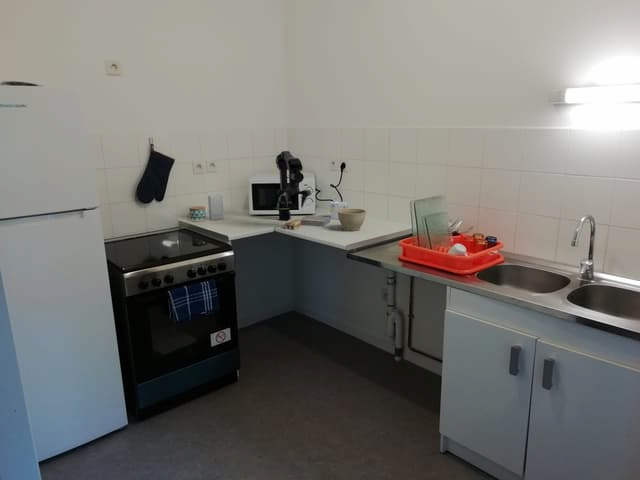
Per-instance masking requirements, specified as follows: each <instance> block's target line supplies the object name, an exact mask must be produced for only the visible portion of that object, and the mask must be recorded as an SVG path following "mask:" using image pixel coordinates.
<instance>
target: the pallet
mask: <svg viewBox="0 0 640 480" xmlns="http://www.w3.org/2000/svg"><path fill="white" fill-rule="evenodd" d="M301 226H302V225H301V220H298V219H290V220H287V221H285V222H284V227H285V228H284V229H285V230H297V229H298V228H301Z"/></svg>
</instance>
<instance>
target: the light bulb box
mask: <svg viewBox="0 0 640 480" xmlns="http://www.w3.org/2000/svg"><path fill="white" fill-rule="evenodd" d="M341 209H348V201H331V202H330V220H339V217H338V210H341Z"/></svg>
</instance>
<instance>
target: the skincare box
mask: <svg viewBox="0 0 640 480" xmlns="http://www.w3.org/2000/svg"><path fill="white" fill-rule="evenodd" d="M223 196H224V195H222V194H220V193H219V194H218V193H216V194H208V195H207V200H208V201H207V203H208V217H209V220H211V222H212V221H219V220H224V219H225V215H224V214H225V213H224V197H223Z"/></svg>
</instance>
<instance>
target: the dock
mask: <svg viewBox="0 0 640 480" xmlns="http://www.w3.org/2000/svg"><path fill="white" fill-rule="evenodd" d="M297 220H301V226H312V227H313V226H314V227H325V226H326V225H328V224H330V223H331V216H330V217H329V216H328V217H327V216H316V215H315V216H313V215H311V216H310V215H304V216H303V217H301V218H298V219H297Z"/></svg>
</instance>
